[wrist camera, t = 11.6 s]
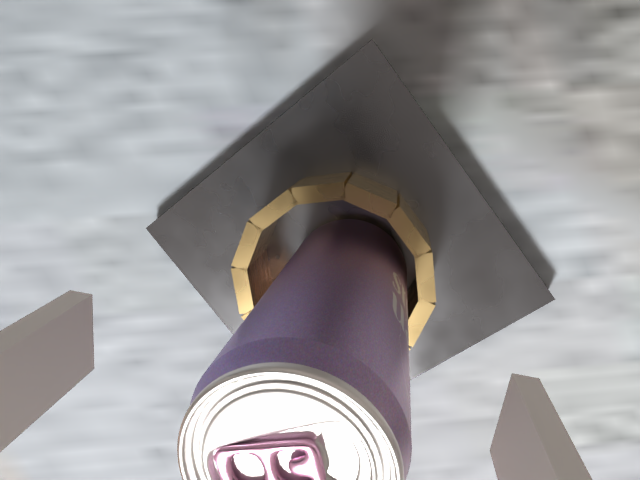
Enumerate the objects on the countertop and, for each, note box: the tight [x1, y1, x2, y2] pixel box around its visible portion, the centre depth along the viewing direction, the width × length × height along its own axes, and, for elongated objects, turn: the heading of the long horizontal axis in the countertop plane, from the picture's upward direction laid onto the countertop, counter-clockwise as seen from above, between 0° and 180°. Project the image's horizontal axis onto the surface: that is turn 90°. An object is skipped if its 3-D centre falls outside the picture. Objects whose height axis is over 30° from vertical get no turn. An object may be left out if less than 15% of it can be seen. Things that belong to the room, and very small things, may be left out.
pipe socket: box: [146, 40, 555, 380], centre depth 24 cm, size 16×16×5 cm
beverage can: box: [177, 219, 412, 480], centre depth 18 cm, size 6×6×15 cm
